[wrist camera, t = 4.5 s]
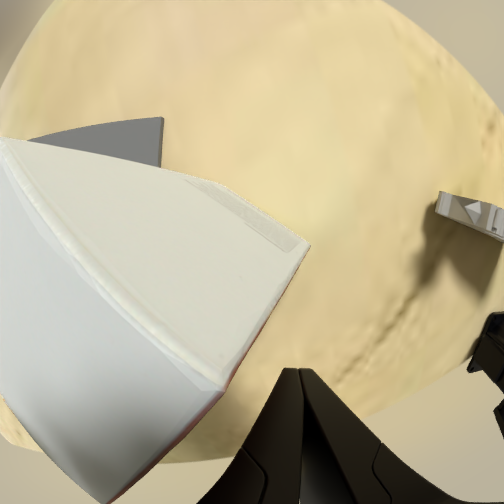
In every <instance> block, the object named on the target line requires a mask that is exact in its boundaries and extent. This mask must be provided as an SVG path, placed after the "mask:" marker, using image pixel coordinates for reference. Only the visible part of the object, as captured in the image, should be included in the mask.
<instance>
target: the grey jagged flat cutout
mask: <svg viewBox="0 0 504 504" xmlns="http://www.w3.org/2000/svg"><path fill="white" fill-rule="evenodd" d="M435 213H438V214H440V215H442V216H445V217H447V218H449V219H452V220H454V221H456V222H459V223H461V224H463V225H466V226H468V227H470V228H473V229H475V230H477V231H480V232H482V233H484V234H487V235H489V236H491V237H493V238H495V239H497V240H498V241H500V242H502V243H504V209H502V208H499V207H497V206H495V205H493V204H490V203H486V202H482V201H478V200H473V199H469V198H465V197H460V196H456V195H452V194H449V193H446V192H443V191H439V195H438V200H437V204H436V209H435Z"/></svg>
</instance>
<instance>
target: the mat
mask: <svg viewBox="0 0 504 504" xmlns="http://www.w3.org/2000/svg"><path fill="white" fill-rule="evenodd" d="M163 126H164V118H162V117H154V118H143V119H133V120H125V121H117V122H110V123H104V124H98V125H92V126H86V127H81V128H76V129H71V130H67V131H62V132H58V133H54V134H49V135H45V136H42V137H38V138H34V139H31V140H27V141H30V142H36V143H42V144H47V145H53V146H58V147H63V148H69V149H75V150H80V151H85V152H91V153H96V154H101V155H106V156H111V157H115V158H120V159H124V160H129V161H133V162H138V163H142V164H146V165H150V166H155V167H159V168H161V153H162V138H163Z"/></svg>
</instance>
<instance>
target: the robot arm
mask: <svg viewBox="0 0 504 504" xmlns="http://www.w3.org/2000/svg"><path fill="white" fill-rule="evenodd" d="M480 370H483V371H484V372H485V373H486V374H487V375H488V377H489V378H490V379H491V380H492V381H493V383H495V384H496V385H497V386H498V387H499V388H500V390H501V391H502V392H503V394H504V311H503V312H493V313H492V314H491V315H490V316H489V319H488V321H487V324H486V327H485V329H484V332H483V334H482V336H481V339H480V341H479V343H478V346H477V348H476V350H475V352H474V355H473V357H472V359H471V361H470V363H469V365H468V367H467V371H468V372H469V373H473V372H477V371H480ZM493 412H494V414H495V417H496V421H497V423H498V425H499V427H500V430H501V433H502V435H503V438H504V399H503V400H502V401H501V403H500V404H499V405H498V406H497V407H496V408H495V409H494V411H493ZM299 499H300V504H504V502H490V503H479V502H477V503H476V502H475V503H474V502H466V501H462V500H458V499H456V498H454V497H452V496H450V495H448V494H447V493H445V492H444V491H442V490H441V489H439V488H438V487H436V486H435V485H433V484H432V483H430V482H429V481H427V480H426V479H425V478H423V477H422V476H421V475H419V474H418V473H416V472H415V471H414V470H413V469H411V468H410V467H409V466H408V465H406V464H405V463H404V462H403V461H402V460H400V459H399V458H398V457H397V456H396V455H395V454H394V453H393V452H392V451H391V450H390V449H389V448H388V447H387V446H386V445H385V444H384V443H381V441H380V439H379V438H377V437H376V436H375V435H374V433H373V432H371V430H369V428H368V427H367V426H366V425H365V424H364V423H363V422H362V421H361V420H360V419H359V418H358V417H357V416H356V415H355V414H354V413H353V412H352V411H351V410H350V409H349V408H348V407H347V406H346V405H345V403H344V402H343V401H342V400H341V399H340V398H339V397H338V396H337V395H336V394H335V393H334V392H333V391H332V390H331V389H330V388H329V387H328V385H327V384H326V383H325V382H324V381H323V380H322V379H321V378H320V377H319V376H318V375H317V374H316V373H315V371H314V370H313V369H310V368H299V369H297V368H284V369H283V370H282V372H281V374H280V376H279V378H278V380H277V382H276V384H275V386H274V388H273V390H272V392H271V394H270V396H269V398H268V399H267V401H266V403H265V405H264V407H263V409H262V411H261V413H260V414H259V416H258V418H257V420H256V422H255V423H254V425H253V427H252V429H251V431H250V432H249V434H248V436H247V438H246V439H245V441H244V443H243V444H242V446H241V448H240V449H239V451H238V453H237V454H236V456H235V457H234V459H233V461H232V462H231V464H230V465H229V467H228V468H227V469H226V471H225V472H224V474H223V475H222V476H221V478H220V479H219V480H218V481H217V482H216V483H215V485H214V486H213V487H212V488H211V489H210V490H209V491H208V492H207V493H206V494H205V495H204V496H203V497H202V499H200V500H199V502H198V503H196V504H299Z"/></svg>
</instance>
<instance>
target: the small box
mask: <svg viewBox="0 0 504 504" xmlns="http://www.w3.org/2000/svg"><path fill="white" fill-rule="evenodd" d="M310 247H311V245H310V243H308V242H307V241H305V240H304V239H303V238H301V237H300V236H298V235H297V234H295V233H294V232H292V231H291V230H290V229H288V228H287V227H285V226H284V225H282V224H281V223H279V222H278V221H276V220H275V219H273V218H272V217H271V216H269V215H268V214H266V213H265V212H263V211H262V210H260V209H259V208H257V207H256V206H254V205H253V204H251V203H250V202H248V201H247V200H245V199H244V198H242V197H241V196H239V195H238V194H236V193H235V192H233V191H231V190H230V189H228V188H227V187H225V186H224V185H222V184H219V183H216V182H213V181H209V180H206V179H202V178H198V177H195V176H191V175H187V174H183V173H180V172H176V171H171V170H167V169H163V168H159V167H155V166H150V165H146V164H142V163H138V162H133V161H129V160H124V159H120V158H115V157H111V156H106V155H101V154H96V153H91V152H85V151H80V150H75V149H69V148H63V147H58V146H53V145H47V144H42V143H36V142H30V141H24V140H18V139H13V138H6V137H0V393H1V395H2V396H3V398H4V399H5V401H6V403H7V404H8V406H9V407H10V409H11V410H12V412H13V413H14V415H15V416H16V417H17V419H18V420H19V422H20V423H21V424H22V426H23V427H24V428H25V430H26V431H27V432H28V433H29V435H30V436H31V437H32V438H33V440H34V441H35V442H36V443H37V444H38V446H39V447H40V448H41V449H42V450H43V451H44V452H45V453H46V454H47V456H48V457H49V458H50V459H51V460H52V461H53V462H54V463H55V464H56V465H57V466H58V467H59V468H60V469H61V470H62V471H63V472H64V473H65V474H66V475H67V476H69V477H70V478H71V479H72V480H73V481H74V482H75V483H76V484H77V485H79V486H80V487H81V488H82V489H83V490H84V491H86V492H87V493H88V494H89V495H90V496H92V497H93V498H94V499H96V500H97V501H98V502H99V503H101V504H111V503H112V502H113V501H115V500H116V499H117V498H119V497H120V496H121V495H123V494H124V493H125V492H126V491H127V490H128V489H129V488H131V487H132V486H133V485H134V484H135V483H136V482H137V481H139V480H140V479H141V478H142V477H144V476H145V475H146V474H147V473H148V472H149V471H150V470H151V469H152V468H153V467H154V466H155V465H156V464H157V463H158V462H159V461H160V460H161V459H162V458H163V457H164V456H165V455H166V454H167V453H168V452H169V451H170V450H172V449H173V448H174V447H175V446H176V445H177V444H178V443H179V442H180V441H182V440H183V439H184V438H185V437H186V436H187V434H188V433H189V432H190V431H191V430H192V429H193V428H194V427H195V426H196V425H197V424H198V422H199V421H200V420H201V419H202V418H203V417H204V416H205V415H206V414H207V412H208V411H209V410H210V409H211V408H212V407H213V406H214V405H215V404H216V403H217V401H218V400H219V399H220V398H221V397H222V396H223V394H224V393H225V391H226V389H227V387H228V385H229V384H230V382H231V380H232V378H233V377H234V375H235V373H236V371H237V369H238V368H239V366H240V364H241V362H242V361H243V359H244V358H245V356H246V354H247V353H248V351H249V349H250V348H251V346H252V345H253V343H254V342H255V340H256V338H257V337H258V335H259V334H260V332H261V330H262V329H263V327H264V325H265V324H266V322H267V320H268V318H269V317H270V315H271V313H272V311H273V310H274V308H275V307H276V305H277V303H278V302H279V300H280V298H281V297H282V295H283V294H284V292H285V290H286V289H287V287H288V285H289V283H290V281H291V280H292V278H293V276H294V274H295V273H296V271H297V269H298V268H299V266H300V263H301V262H302V260H303V259H304V257H305V256H306V254H307V252H308V251H309V249H310Z"/></svg>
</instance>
